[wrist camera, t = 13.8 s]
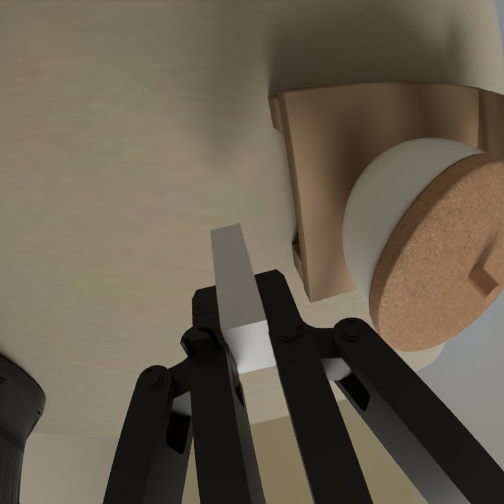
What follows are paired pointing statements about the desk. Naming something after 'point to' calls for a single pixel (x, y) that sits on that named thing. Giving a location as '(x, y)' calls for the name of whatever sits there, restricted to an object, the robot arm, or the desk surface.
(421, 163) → the lidded jar
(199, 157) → the desk surface
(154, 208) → the desk surface
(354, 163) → the wooden stand
